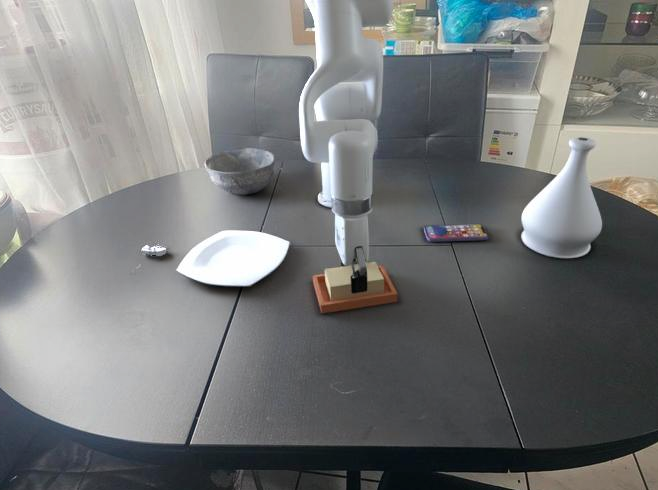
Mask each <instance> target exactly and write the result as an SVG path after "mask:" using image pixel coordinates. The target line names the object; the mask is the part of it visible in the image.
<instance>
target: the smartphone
mask: <svg viewBox="0 0 658 490" xmlns="http://www.w3.org/2000/svg"><path fill="white" fill-rule="evenodd" d="M423 232H424V235H425V238H426V240H427V242H430V243H436V242H437V243H439V242H441V243H442V242H465V241H466V242H468V241H486V240H488V239H489V234H488V233H487V230H486V229H485V227H484V226H483V224H481V223H463V224H462V223H460V224H459V223H458V224H457V223H456V224H435V225H433V224H432V225H425V226H424V227H423Z"/></svg>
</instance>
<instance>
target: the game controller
mask: <svg viewBox="0 0 658 490" xmlns="http://www.w3.org/2000/svg"><path fill="white" fill-rule="evenodd" d="M148 245H149V244H148ZM148 245H145V246H143V247H142V248H141V254H142V255H144V256H147V258H149V257H153V256H152V255H150V256H149V255H146V254H143V253H142V251H143V252H145V253H149V254H160V253H162V252H163V251H165V250H166V251H165V252H164V253H162V254H161V255H156V256H155V257H161V256H163V255H166V254H167V253H168V252H167V248H166V247H164V246H163V245H162V247H161V246H157V245H158V244H157V243H155V244H154V246H152V247H151V245H149V246H148ZM160 247H161V248H160ZM140 267H141V265H139V266H138V267H137V269H139V268H140ZM132 273H133V271H131V272H130V274H132Z"/></svg>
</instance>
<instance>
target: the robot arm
mask: <svg viewBox="0 0 658 490" xmlns="http://www.w3.org/2000/svg"><path fill="white" fill-rule="evenodd" d="M305 2H306V4H307V6H308V8H309V11H310V12H311V14H312V15H311V16H312V18H313V21H314V31H315V32H314V33H315V48H316V49H315V50H316V64H317V68H316V69H315V70H314V71H313V73H312V74H311V75H310V77H309V79H308V80H307V81H306V83H305V85H304V88H303V90H302V93H301V95H300V100H299V104H298V106H299V107H298V118H299V134H300V135H299V137H300V147H301V152H302V155H303V156H304V158H305V159H306V160H307V161H308V162H310V163H314V164H320V168H321V169H320V170H321V185H322V190H321V191H320V192H319V194H318V195H317V201H318V203H319V204H320V205H322V206H324V207H327V208H331V212H332V214H334V242H335V246H336V249H337V250H336V251H337V252H338V256H339V257H340V267H343V266H350V265H351V271H352V276H351V293H353V294H354V293H360V292H366V291H367V266H366V263H369V262H368V261H369V258H370V236H369V235H370V234H369V232H370V231H369V217H368V215H370V214H371V213H372V212H373V162H374V161H373V158H374V155H375V152H377V150H378V143H379V136H378V129H377V128H376V127H375V125H374V123H373V122H374V121H375V122H376V120H378V119H379V118H380V115H381V112H382V106H383V105H382V103H383V82H384V51H383V48H382V45H381V43H380V42H379V41H378V39H375V38H372V37H364V30H363V28H364V27H383V26H386V25H388V24H389V23H390V22H391V19H392V17H393V13H394V5H395V4H394V2H395V1H394V0H305ZM360 82H361V83H360ZM314 115H315V116H316V120H315V116H314ZM354 265H358V270H356V271H355V266H354Z"/></svg>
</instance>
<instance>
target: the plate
mask: <svg viewBox="0 0 658 490" xmlns="http://www.w3.org/2000/svg"><path fill="white" fill-rule="evenodd" d="M290 244H291V242H290V241H288V240H286V239H283V238H281V237H279V236H275V235H273V234H269V233H265V232H261V231H255V230H254V231H253V230H231V229H230V230H228V229H227V230H222V231H220V232H218V233H216V234H213V235H212V236H209V237H208V238H206V239H204V240H203V241H200V243H198V244H197V245H195V246H194V247H193V248H192V249H191V250H189V251H188V253H186V255H185V256H184V257H183V259H182V260H181V262H179V263H180V264H179V265H178V267H177V268H176V272H177V273H178V274H181V275H182V276H185V277H187V278H189V279H190V280H193V281H195V282H199V283H201V284H205V285H210V286H217V287H232V288H233V287H235V288H243V287H244V288H246V287H247V288H250V287H252V286H253V285H255V284H257V283H259V282H260V281H262V280H263V279H264V278H266V277H268V276H269V275H270V274H272V273H273V272H274V271H275V270H277V269H278V267H279V266H280V265H281V264H282V263H283V261H285V258H286V256H287V254H288V252H289V251H288V250H289V247H290Z"/></svg>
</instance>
